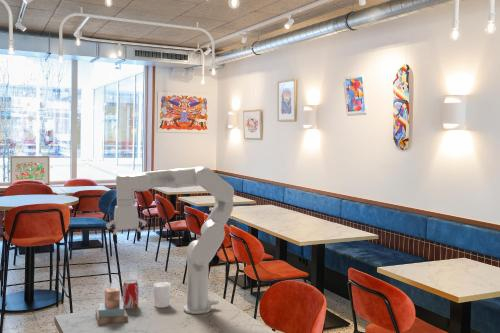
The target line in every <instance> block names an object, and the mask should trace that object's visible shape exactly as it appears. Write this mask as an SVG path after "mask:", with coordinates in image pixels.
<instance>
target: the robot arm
mask: <svg viewBox="0 0 500 333" xmlns="http://www.w3.org/2000/svg"><path fill="white" fill-rule="evenodd" d="M115 182H116V183H115V189H116V190H115V192H116V205H115V206H114V211H113V212H114V213H113V219H112V220H111V221H110V222H107V223H106V224H105V226H106V227H105V228H107V230H108V232H110V233H111V234H112V239H113V240H112V241H113V243H114V244H115V245H116V244H118V234H117V232H118V231H123V230H133V229H135V230H137V231H136V241H137V242H140V241H141V239H142V231H143V230H144V229H145V227H146V225H147V220H144V219H142V218H140V217H139V213H138V208H137V203H139V199H136V197H135V191H136V192H137V191H138V192H147V191H148V190H150V189H153V188H154V189H155V188H169V189H179V188H180V189H181V188H189V187H199V186H200V187H201V188H202V189H203V190H205V191H206V192H207V193H209V194H210V195H211V196H213V198H214V205H213V207H212V209H211V212H210V213H209V215H208V216H207V218H206V219H205V221H204V223H203V224H202V226H201V227H200V234H201V236H200V238H199V239H195V240H191V242H190V243H189V244H188V246H187V247H186V248H187V249H186V260H187V266H186V267H187V268H186V269H187V272H186V277H187V279H186V280H187V281H186V282H187V284H186V304H185V305H184V306H183V311H184V312H185V313H188V314H192V315H193V314H194V315H201V314H202V315H203V314H206V313H209V312H211V311H212V305H214V306H215V305H216V306H217V305H219V300H218V299H210V298H209V263H210V262H211V261H212V260H213V258H214V257H215V255H216V253H217V252H218V250H219V248H220V246H221V245H222V244H223V242H224V241H225V240H224V239H225V238H226V237H225V236H226V232H225V226H226V225H227V223H228V221H229V218H230V217H231V214H232V213H233V208H234V196H235V189H234V187H233V186H232V185H231V184H230V183H228V181H226V180H225V179H223V178H222V177H221V176H219V174H217V173H216V172H214V171H213V170H212V169H210V168H209V167H206V166H193V167H191V166H190V167H182V168H173V169H165V170H153V171H142V172H139V173H137V174H135V175H133V174H129V173H128V174H127V173H126V174H124V173H123V174H119V175H116V177H115ZM140 223H142V225H140ZM139 225H140V227H139ZM111 226H114V229H112V228H111Z"/></svg>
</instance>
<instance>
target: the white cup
mask: <svg viewBox="0 0 500 333" xmlns="http://www.w3.org/2000/svg"><path fill="white" fill-rule="evenodd" d="M171 285H172V283H171V282H167V281H166V282H165V281H158V282H155V283H153V286H152V287H153V301H154V304H153V305H154V307H155V308H160V309H161V308H162V309H163V308H167V307H169V306H170V300H171Z"/></svg>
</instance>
